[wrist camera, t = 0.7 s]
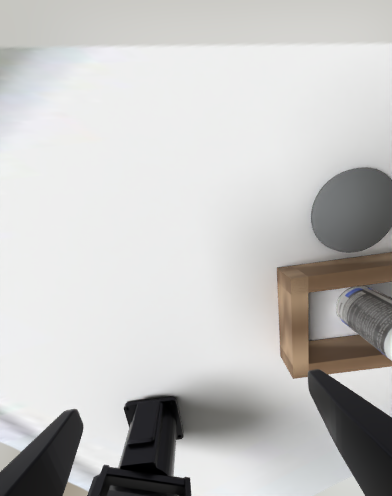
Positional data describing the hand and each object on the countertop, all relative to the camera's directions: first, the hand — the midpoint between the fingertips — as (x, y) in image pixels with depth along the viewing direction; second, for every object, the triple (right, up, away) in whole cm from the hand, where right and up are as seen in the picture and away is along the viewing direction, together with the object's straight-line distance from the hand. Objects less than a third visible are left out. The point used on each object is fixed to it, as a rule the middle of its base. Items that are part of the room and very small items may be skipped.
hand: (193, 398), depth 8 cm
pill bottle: (+18, -1, +15) cm, 23 cm away
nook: (+16, -1, +14) cm, 22 cm away
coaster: (+16, +9, +12) cm, 22 cm away
